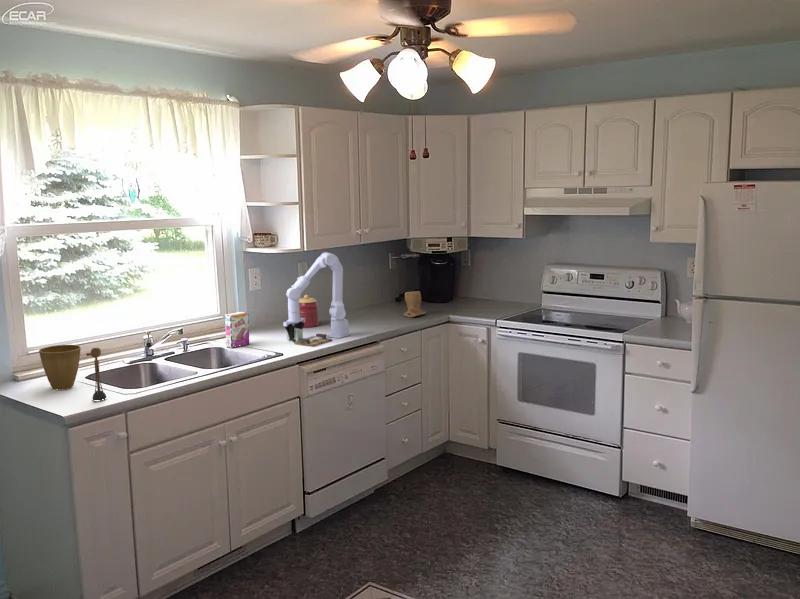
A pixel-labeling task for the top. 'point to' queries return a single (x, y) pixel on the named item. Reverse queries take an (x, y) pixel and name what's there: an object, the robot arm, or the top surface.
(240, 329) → the candy bar box
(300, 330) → the module
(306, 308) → the canister
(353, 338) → the top surface
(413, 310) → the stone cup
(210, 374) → the top surface
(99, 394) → the wooden tabletop sculpture
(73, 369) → the plant pot
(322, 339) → the rail board
